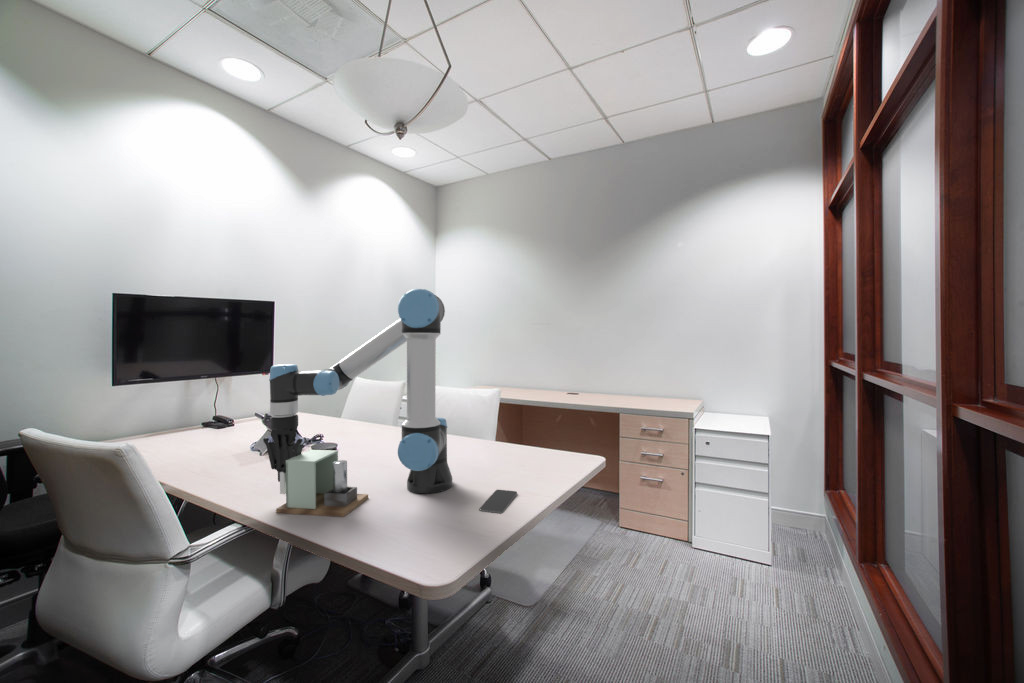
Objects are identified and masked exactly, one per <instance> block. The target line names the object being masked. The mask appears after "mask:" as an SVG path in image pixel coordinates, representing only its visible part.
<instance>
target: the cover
mask: <svg viewBox="0 0 1024 683" xmlns="http://www.w3.org/2000/svg"><path fill="white" fill-rule="evenodd" d="M335 461H339V450H333V449H328V450H327V449H310V450H307V451H305V452H303V453H301V454H300V455H298V456H295V457H293V458H291V459H288V460H286V493H285V497H286V498H285V500H286V502H285V503H286V507H289V508H306V509H316V493H320V494H325V493H327V492H328V491H330V490H331V489H333V462H335Z"/></svg>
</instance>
